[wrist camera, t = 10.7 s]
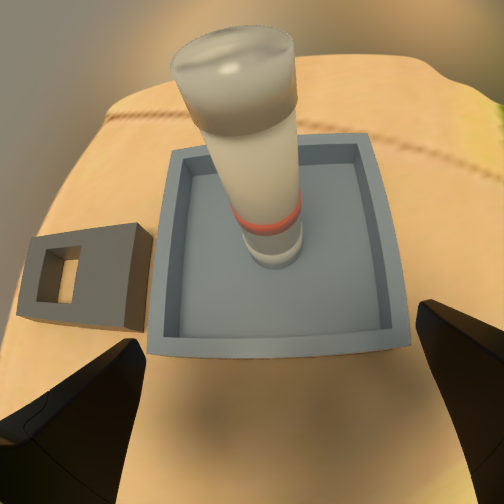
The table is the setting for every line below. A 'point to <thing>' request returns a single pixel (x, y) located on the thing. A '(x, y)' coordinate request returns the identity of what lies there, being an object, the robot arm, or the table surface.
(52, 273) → the block
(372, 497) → the table surface
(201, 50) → the cup
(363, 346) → the tray
